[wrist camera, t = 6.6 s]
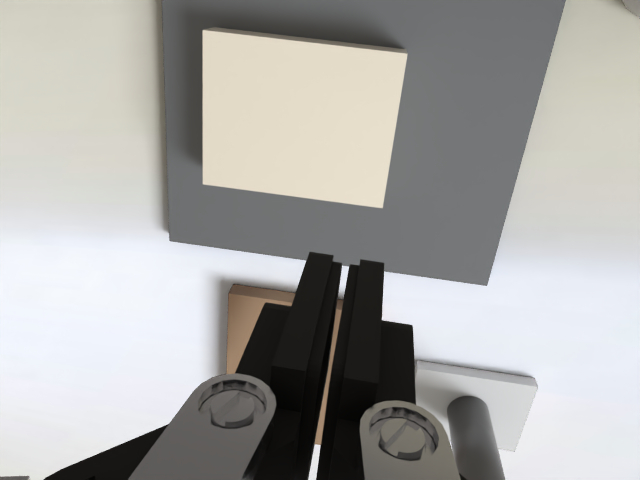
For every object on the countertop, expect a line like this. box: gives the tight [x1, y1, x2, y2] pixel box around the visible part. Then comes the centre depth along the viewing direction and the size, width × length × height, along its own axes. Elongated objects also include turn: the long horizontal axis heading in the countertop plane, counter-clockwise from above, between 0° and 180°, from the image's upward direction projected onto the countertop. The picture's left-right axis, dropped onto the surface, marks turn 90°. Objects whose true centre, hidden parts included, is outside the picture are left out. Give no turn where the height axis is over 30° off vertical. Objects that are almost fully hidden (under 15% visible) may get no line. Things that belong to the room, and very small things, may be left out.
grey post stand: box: [415, 360, 538, 480], centre depth 34 cm, size 8×6×9 cm
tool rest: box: [227, 284, 343, 445], centre depth 37 cm, size 10×12×1 cm
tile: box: [203, 27, 408, 208], centre depth 28 cm, size 2×8×10 cm
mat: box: [162, 0, 566, 286], centre depth 29 cm, size 20×18×1 cm
